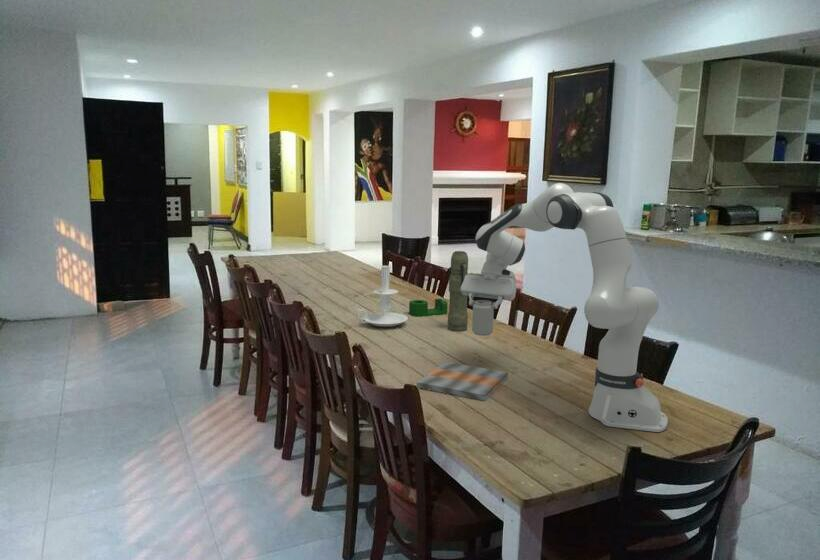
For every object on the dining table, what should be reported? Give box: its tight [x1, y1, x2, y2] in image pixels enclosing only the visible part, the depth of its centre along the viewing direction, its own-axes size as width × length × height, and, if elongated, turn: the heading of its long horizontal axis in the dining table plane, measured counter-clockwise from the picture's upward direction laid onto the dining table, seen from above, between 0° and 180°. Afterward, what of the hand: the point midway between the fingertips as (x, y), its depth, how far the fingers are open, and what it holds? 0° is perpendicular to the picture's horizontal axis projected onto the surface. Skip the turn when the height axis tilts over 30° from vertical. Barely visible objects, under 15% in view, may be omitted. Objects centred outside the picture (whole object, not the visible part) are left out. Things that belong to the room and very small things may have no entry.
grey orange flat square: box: [416, 361, 509, 402], centre depth 212 cm, size 24×24×2 cm
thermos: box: [447, 250, 469, 333], centre depth 275 cm, size 9×12×35 cm
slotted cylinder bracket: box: [408, 298, 448, 318], centre depth 304 cm, size 18×9×6 cm, turn 113°
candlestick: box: [356, 264, 409, 328], centre depth 280 cm, size 21×25×28 cm
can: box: [471, 299, 495, 337], centre depth 224 cm, size 8×8×12 cm
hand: (482, 306), depth 223 cm, fingers closed on can, 7 cm apart
